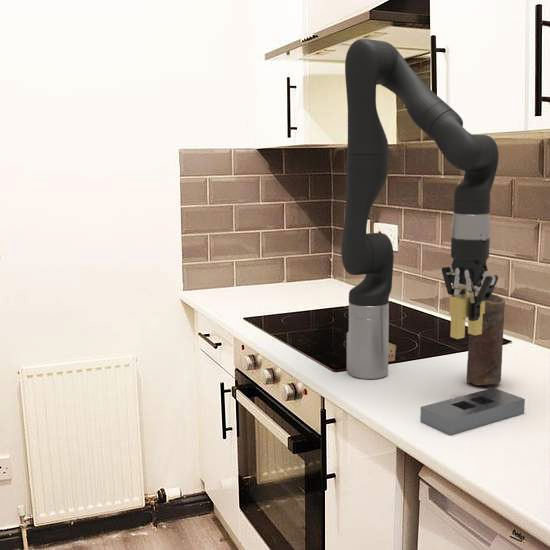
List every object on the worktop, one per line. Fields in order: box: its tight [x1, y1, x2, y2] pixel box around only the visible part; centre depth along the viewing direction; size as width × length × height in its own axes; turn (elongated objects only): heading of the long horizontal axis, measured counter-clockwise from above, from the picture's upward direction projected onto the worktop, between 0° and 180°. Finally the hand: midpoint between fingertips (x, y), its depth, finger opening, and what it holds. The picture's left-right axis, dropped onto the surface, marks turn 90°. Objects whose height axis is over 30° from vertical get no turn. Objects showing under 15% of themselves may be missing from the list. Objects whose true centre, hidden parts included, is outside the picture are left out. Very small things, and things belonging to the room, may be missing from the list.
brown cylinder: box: [465, 293, 506, 387], centre depth 155 cm, size 8×7×20 cm
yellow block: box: [449, 292, 485, 340], centre depth 144 cm, size 3×7×8 cm, turn 121°
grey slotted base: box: [420, 387, 526, 436], centre depth 137 cm, size 8×20×3 cm, turn 121°
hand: (467, 318), depth 144 cm, fingers closed on yellow block, 3 cm apart
